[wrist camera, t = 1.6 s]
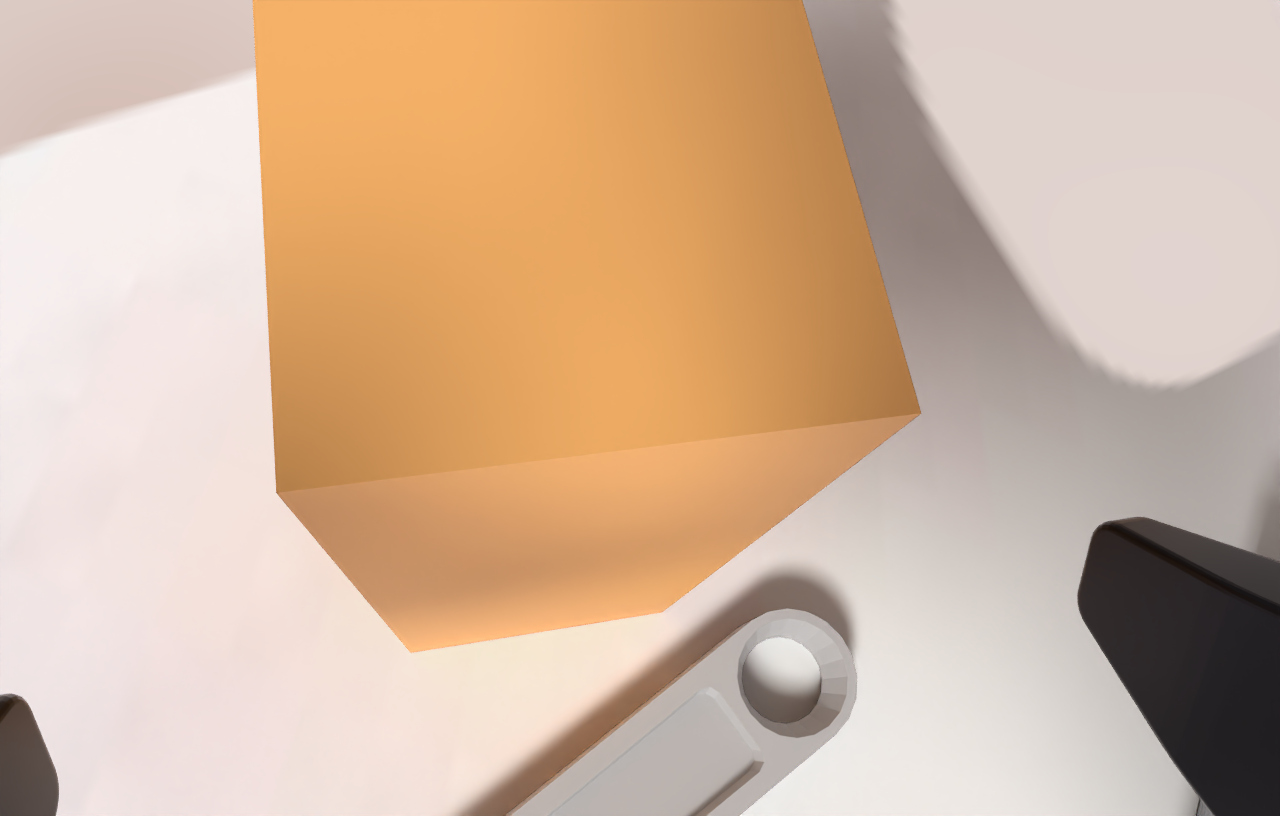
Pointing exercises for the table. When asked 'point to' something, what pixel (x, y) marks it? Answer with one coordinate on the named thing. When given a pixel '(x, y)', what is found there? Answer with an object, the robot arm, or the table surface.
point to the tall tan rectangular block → (559, 298)
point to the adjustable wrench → (705, 735)
